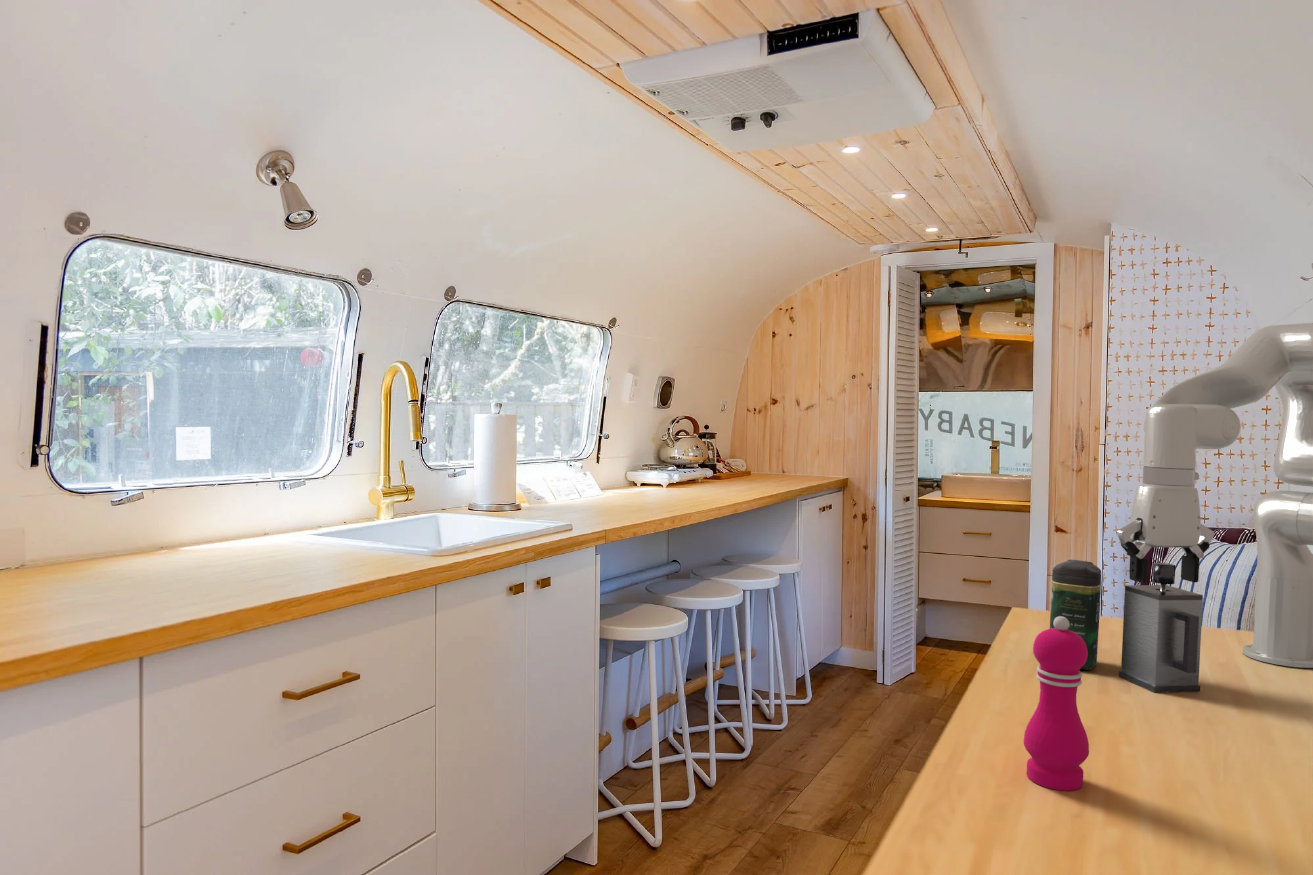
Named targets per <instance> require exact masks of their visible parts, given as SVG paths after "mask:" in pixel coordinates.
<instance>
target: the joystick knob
mask: <svg viewBox="0 0 1313 875" xmlns="http://www.w3.org/2000/svg"><path fill="white" fill-rule="evenodd" d="M1152 565H1153V567H1152V582H1153V583H1154V584H1155V583H1156V584H1159V585H1161V587H1160V591H1166V585H1174V584H1176V583H1175V582H1176V565H1175V564H1172V563H1168V562H1167V563H1166V562H1153V564H1152Z"/></svg>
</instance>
